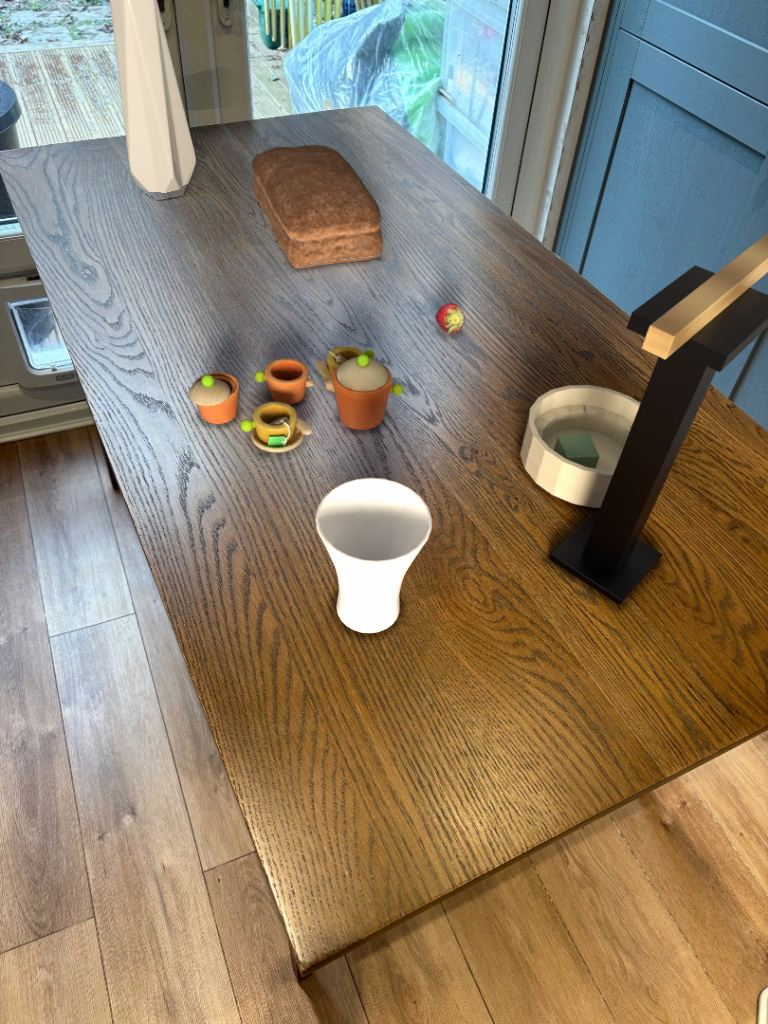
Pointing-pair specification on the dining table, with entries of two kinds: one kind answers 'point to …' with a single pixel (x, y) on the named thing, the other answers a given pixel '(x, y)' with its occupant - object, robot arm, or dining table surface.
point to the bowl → (577, 415)
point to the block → (577, 449)
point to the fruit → (450, 318)
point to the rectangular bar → (707, 301)
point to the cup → (372, 546)
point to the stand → (656, 438)
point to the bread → (316, 206)
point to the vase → (150, 99)
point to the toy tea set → (300, 396)
